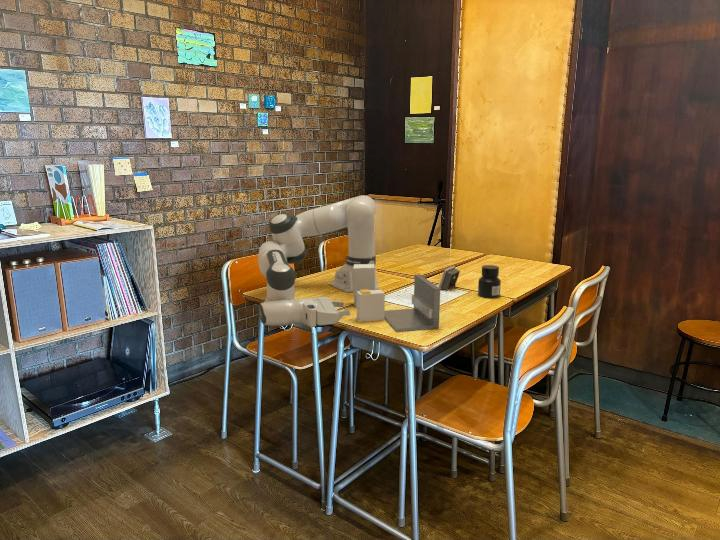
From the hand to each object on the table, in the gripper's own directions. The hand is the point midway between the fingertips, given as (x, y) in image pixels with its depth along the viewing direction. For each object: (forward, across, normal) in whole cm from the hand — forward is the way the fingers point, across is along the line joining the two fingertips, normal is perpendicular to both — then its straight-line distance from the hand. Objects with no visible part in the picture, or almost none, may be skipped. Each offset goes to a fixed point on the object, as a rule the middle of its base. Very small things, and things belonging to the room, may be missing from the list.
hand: (346, 308), depth 192 cm
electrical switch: (+52, -32, -5) cm, 61 cm away
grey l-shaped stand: (+21, +5, -5) cm, 22 cm away
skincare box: (+11, -17, -5) cm, 21 cm away
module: (+9, 0, -5) cm, 10 cm away
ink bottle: (+64, -18, -5) cm, 66 cm away
